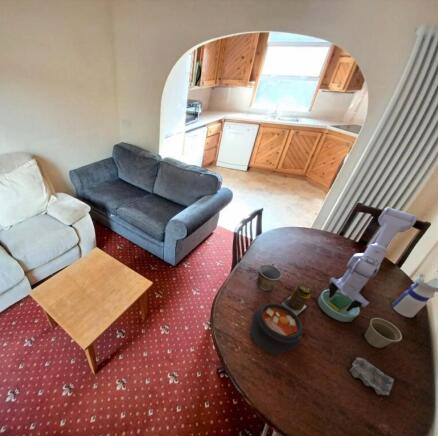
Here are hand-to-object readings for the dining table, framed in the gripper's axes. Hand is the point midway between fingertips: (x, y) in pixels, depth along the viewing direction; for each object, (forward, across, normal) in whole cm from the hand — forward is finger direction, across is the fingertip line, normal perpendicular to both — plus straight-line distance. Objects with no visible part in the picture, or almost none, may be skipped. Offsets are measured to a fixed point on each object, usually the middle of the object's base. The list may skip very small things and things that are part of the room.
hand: (339, 303), depth 106 cm
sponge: (+3, 0, 0) cm, 3 cm away
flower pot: (+4, +16, -1) cm, 16 cm away
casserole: (+4, -4, -34) cm, 34 cm away
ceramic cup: (+4, -24, -18) cm, 30 cm away
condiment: (+4, -9, -16) cm, 19 cm away
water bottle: (+4, +13, +27) cm, 30 cm away
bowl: (+4, 0, 0) cm, 4 cm away
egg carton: (+4, +23, -18) cm, 29 cm away
